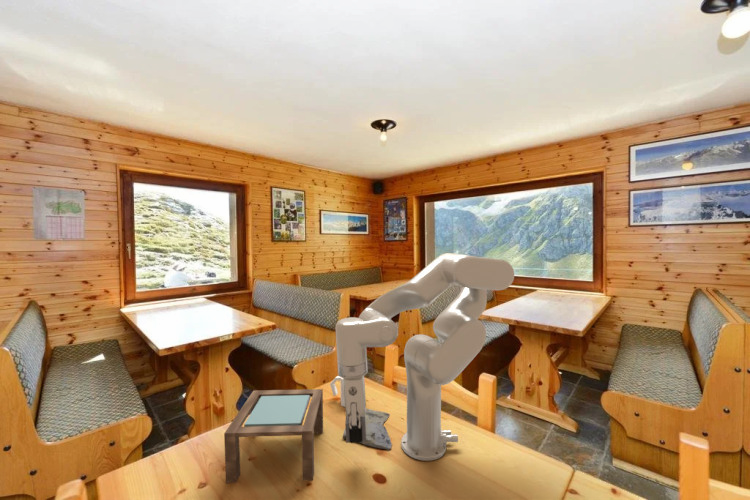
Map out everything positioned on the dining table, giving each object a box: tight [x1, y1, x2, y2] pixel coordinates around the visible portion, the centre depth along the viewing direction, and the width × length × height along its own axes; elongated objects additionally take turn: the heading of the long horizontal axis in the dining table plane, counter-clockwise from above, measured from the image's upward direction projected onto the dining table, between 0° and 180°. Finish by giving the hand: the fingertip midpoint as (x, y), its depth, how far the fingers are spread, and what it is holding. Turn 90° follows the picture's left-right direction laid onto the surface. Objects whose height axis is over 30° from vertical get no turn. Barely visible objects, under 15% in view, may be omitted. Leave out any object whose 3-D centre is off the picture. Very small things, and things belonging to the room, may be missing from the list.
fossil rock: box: [342, 408, 393, 451], centre depth 101 cm, size 18×15×2 cm
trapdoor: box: [243, 395, 312, 427], centre depth 90 cm, size 14×14×1 cm
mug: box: [329, 375, 345, 408], centre depth 117 cm, size 12×9×10 cm
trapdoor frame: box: [223, 388, 324, 484], centre depth 90 cm, size 21×21×12 cm
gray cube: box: [344, 412, 366, 444], centre depth 85 cm, size 5×5×5 cm
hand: (356, 433), depth 85 cm, fingers closed on gray cube, 5 cm apart
